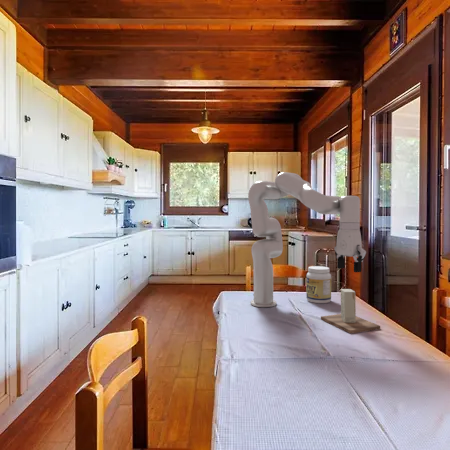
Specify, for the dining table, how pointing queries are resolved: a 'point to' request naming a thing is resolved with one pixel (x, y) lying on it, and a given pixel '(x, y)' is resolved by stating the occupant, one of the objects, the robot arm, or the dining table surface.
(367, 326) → the walnut board
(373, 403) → the dining table surface
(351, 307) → the skincare box
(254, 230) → the robot arm
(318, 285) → the supplement tub
